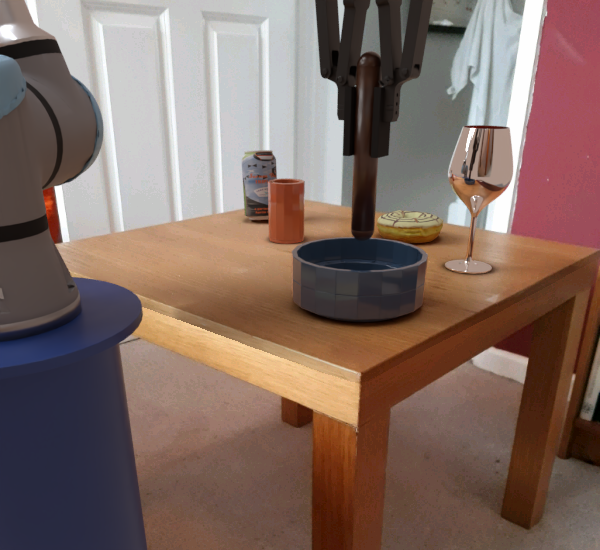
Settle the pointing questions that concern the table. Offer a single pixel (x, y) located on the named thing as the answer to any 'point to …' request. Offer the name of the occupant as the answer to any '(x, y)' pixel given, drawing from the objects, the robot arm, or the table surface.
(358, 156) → the stirring stick
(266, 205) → the beverage can
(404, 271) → the bowl
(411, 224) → the decorated donut
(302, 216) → the utensil pot
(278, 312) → the table surface
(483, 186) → the wineglass
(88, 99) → the robot arm
